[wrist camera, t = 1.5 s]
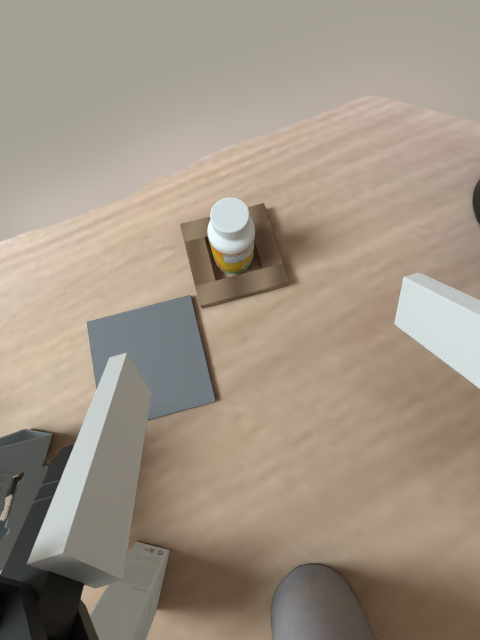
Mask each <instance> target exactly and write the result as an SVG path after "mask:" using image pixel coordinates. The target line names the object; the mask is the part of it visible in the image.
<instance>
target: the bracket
mask: <svg viewBox="0 0 480 640" xmlns="http://www.w3.org/2000/svg"><path fill="white" fill-rule="evenodd" d="M51 437H52V433H46V432H40V431H34V430H28V429H24V430H20V431H18V432H15V433H12V434H9V435H7V436H4V437H1V438H0V515H1V513H2V511H3V509H4V506H5V498H6V497H7V496H9V495H10V494H11V492H12V488H13V485H14V481H15V478H13V476H15V475H18V474H20V473H22V472H24V476H23V478H22V479H21V480H20V481H18V482H17V486H16V489H15V493H14V496H13V500H12V503H11V506H10V510H9V513H8V517H7V520H6V521H2V520H0V571H1V570H2V569H3V568H4V566H5V564H6V562H7V559H8V557H9V555H10V553H11V551H12V548H13V546H14V544H15V542H16V540H17V537H18V535H19V533H20V531H21V529H22V526H23V524H24V522H25V520H26V518H27V515H28V513H29V511H30V509H31V507H32V504H34V503H35V498H36V496H37V493H38V491H39V489H40V488H41V487H42V482H43V480H44V478H45V476H46V474H47V471H48V466H47V465H45V466H42V465H43V462H45V459H46V456H47V452H48V448H49V445H50V441H51Z"/></svg>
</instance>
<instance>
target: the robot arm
mask: <svg viewBox="0 0 480 640" xmlns="http://www.w3.org/2000/svg"><path fill="white" fill-rule="evenodd" d="M473 207H474V212H475V215H476V218H477V220H478V222H479V224H480V180H479V181H478V183H477V185H476V187H475V190H474V194H473ZM394 324H395V325H396V326H398V327H399V328H400V329H402V330H403V331H404V332H406V333H407V334H408V335H410V336H411V337H412V338H414V339H415V340H416V341H417V342H419V343H420V344H421V345H423V346H424V347H425V348H427V349H428V350H429V351H431V352H432V353H433V354H435V355H436V356H437V357H439V358H440V359H441V360H443V361H444V362H445V363H447V364H448V365H449V366H451V367H452V368H453V369H455V370H456V371H457V372H459V373H460V374H461V375H462V376H464V377H465V378H466V379H468V380H469V381H470V382H472V383H473V384H474V385H476V386H477V387H478V388H480V300H478V299H476V298H474V297H472V296H469V295H467V294H465V293H463V292H461V291H458V290H456V289H454V288H452V287H450V286H447V285H445V284H443V283H441V282H439V281H436V280H434V279H432V278H430V277H428V276H426V275H423V274H421V273H416V274H412V275H408V276H405V277H404V279H403V284H402V288H401V293H400V298H399V303H398V308H397V313H396V318H395V322H394ZM150 400H151V391H150V389H149V388H148V386H147V385H146V383H145V381H144V380H143V378H142V376H141V375H140V373H139V372H138V370H137V368H136V367H135V365H134V364H133V362H132V360H131V359H130V357H129V356H128V354H127V353H124V354H120V355H117V356H113V357H109V360H108V362H107V365H106V367H105V370H104V372H103V375H102V377H101V380H100V382H99V385H98V387H97V390H96V392H95V395H94V397H93V400H92V402H91V405H90V407H89V410H88V412H87V415H86V417H85V420H84V422H83V425H82V427H81V430H80V432H79V435H78V437H77V440H76V442H75V445H71V446H68V447H64V448H63V449H62V450H61V452H60V453H59V454H58V456H57V457H56V458H55V460H54V461H53V462H52V464H51V465H50V467H49V469H48V471H47V474H46V476H45V478H44V480H43V482H42V487H41V488H40V489H39V491H38V493H37V496H36V498H35V503H34V504H32V507H31V509H30V511H29V513H28V515H27V518H26V520H25V522H24V524H23V526H22V529H21V531H20V533H19V535H18V537H17V540H16V542H15V544H14V546H13V548H12V551H11V553H10V555H9V557H8V559H7V562H6V564H5V566H4V568H3V570H2V572H1V574H0V640H99V638H98V636H97V633H96V631H95V628H94V626H93V623H92V621H91V618H90V616H89V613H88V611H87V608H86V606H85V604H84V603H83V602H82V600H81V599H80V598H81V594H82V590H83V586H84V585H87V586H90V587H93V588H99V587H102V586H105V585H108V584H111V583H114V582H117V581H121V580H123V577H124V570H125V564H126V557H127V551H128V544H129V537H130V531H131V524H132V518H133V511H134V505H135V498H136V492H137V485H138V478H139V472H140V465H141V459H142V452H143V446H144V439H145V433H146V426H147V419H148V413H149V406H150Z"/></svg>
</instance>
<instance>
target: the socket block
mask: <svg viewBox="0 0 480 640" xmlns="http://www.w3.org/2000/svg"><path fill="white" fill-rule="evenodd" d="M248 209H249V216H250V217H251V219H252V220H253V223H254V226H255V240H254V246H255V249H256V252H257V256H258V259H259V262H260V266H261V269H259V270H255V271H251V272H248V273H244V274H240V275H236V276H232V277H228V278H224V279H221V280H217V281H216V280H215V276H214V272H213V268H212V264H211V260H210V256H209V253H208V249H207V245H206V242H208V241H209V238H208V233H207V229H208V224H209V222H210V220H211V219H210V217H207V218H203V219H199V220H195V221H191V222H187V223H183V224H180V225H181V229H182V234H183V238H184V242H185V246H186V250H187V254H188V258H189V263H190V267H191V271H192V275H193V279H194V283H195V287H196V292H197V296H198V300H199V304H200V307H201V308H205V307H209V306H213V305H216V304H220V303H224V302H228V301H232V300H236V299H239V298H243V297H247V296H251V295H255V294H258V293H262V292H266V291H270V290H274V289H278V288H281V287H285V286H288V284H289V279H288V276H287V273H286V270H285V267H284V264H283V261H282V258H281V254H280V251H279V248H278V245H277V242H276V239H275V236H274V233H273V230H272V226H271V223H270V220H269V217H268V214H267V211H266V208H265V205H264V203H263V204H259V205H255V206H251V207H248Z"/></svg>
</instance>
